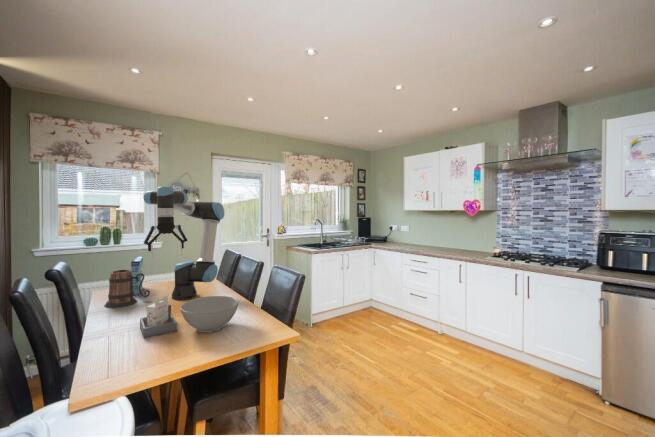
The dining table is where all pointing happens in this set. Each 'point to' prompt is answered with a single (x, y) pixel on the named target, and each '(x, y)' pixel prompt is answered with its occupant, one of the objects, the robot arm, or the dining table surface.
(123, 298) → the tankard
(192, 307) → the decorative bowl
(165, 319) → the ink cartridge box
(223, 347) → the dining table surface
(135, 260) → the gum box
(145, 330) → the bin
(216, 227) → the robot arm
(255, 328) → the dining table surface
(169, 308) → the walnut block
